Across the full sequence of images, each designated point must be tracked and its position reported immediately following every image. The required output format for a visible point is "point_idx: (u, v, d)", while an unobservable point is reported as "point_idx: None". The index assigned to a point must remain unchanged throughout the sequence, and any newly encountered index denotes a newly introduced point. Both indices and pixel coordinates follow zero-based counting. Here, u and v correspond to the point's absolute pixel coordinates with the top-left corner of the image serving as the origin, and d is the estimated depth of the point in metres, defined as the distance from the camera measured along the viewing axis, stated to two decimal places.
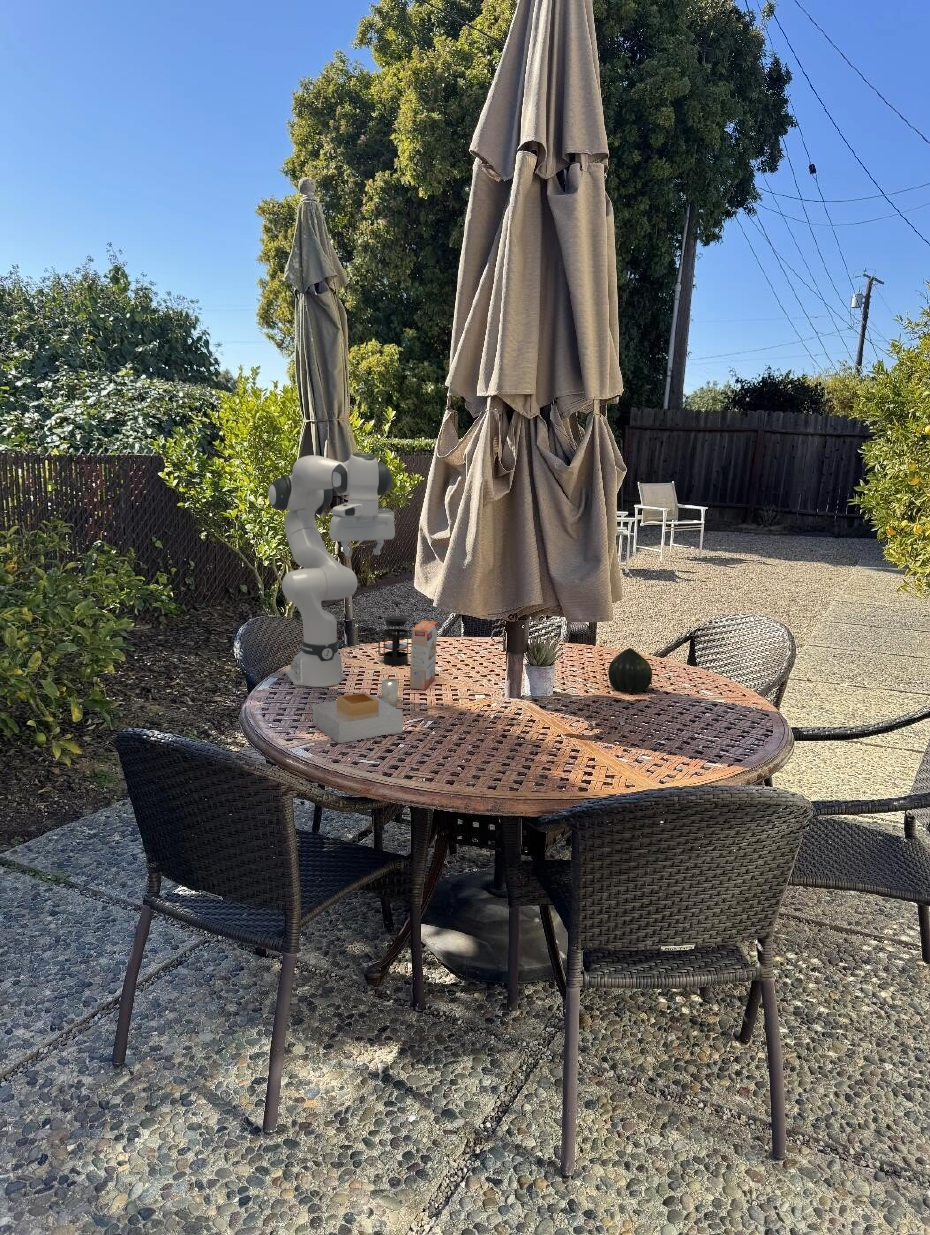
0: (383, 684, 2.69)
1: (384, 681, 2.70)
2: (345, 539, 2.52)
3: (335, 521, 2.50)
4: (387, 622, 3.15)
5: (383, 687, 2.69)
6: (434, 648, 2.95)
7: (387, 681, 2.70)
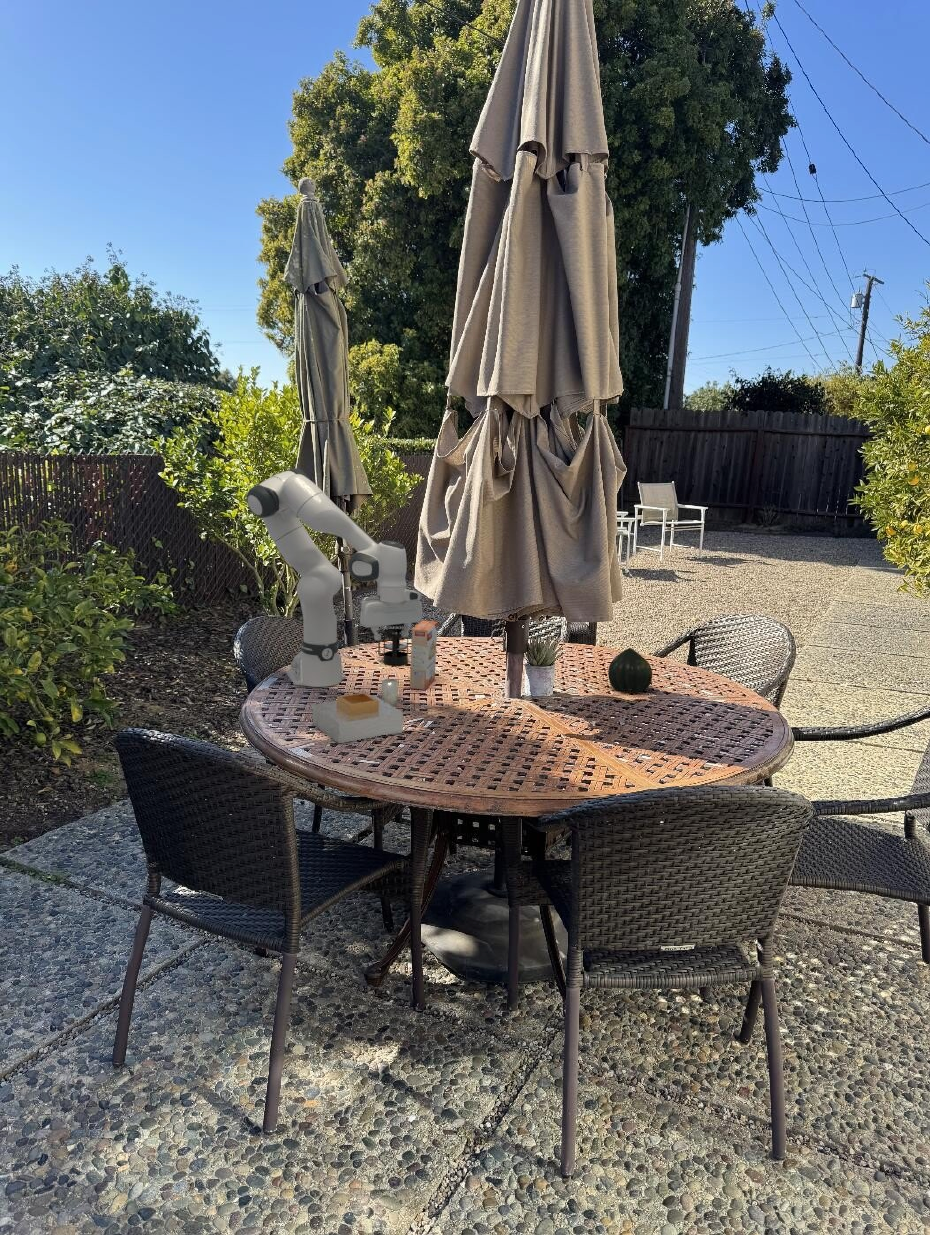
0: (383, 684, 2.69)
1: (384, 681, 2.70)
2: None
3: None
4: None
5: (383, 687, 2.69)
6: (434, 648, 2.95)
7: (387, 681, 2.70)
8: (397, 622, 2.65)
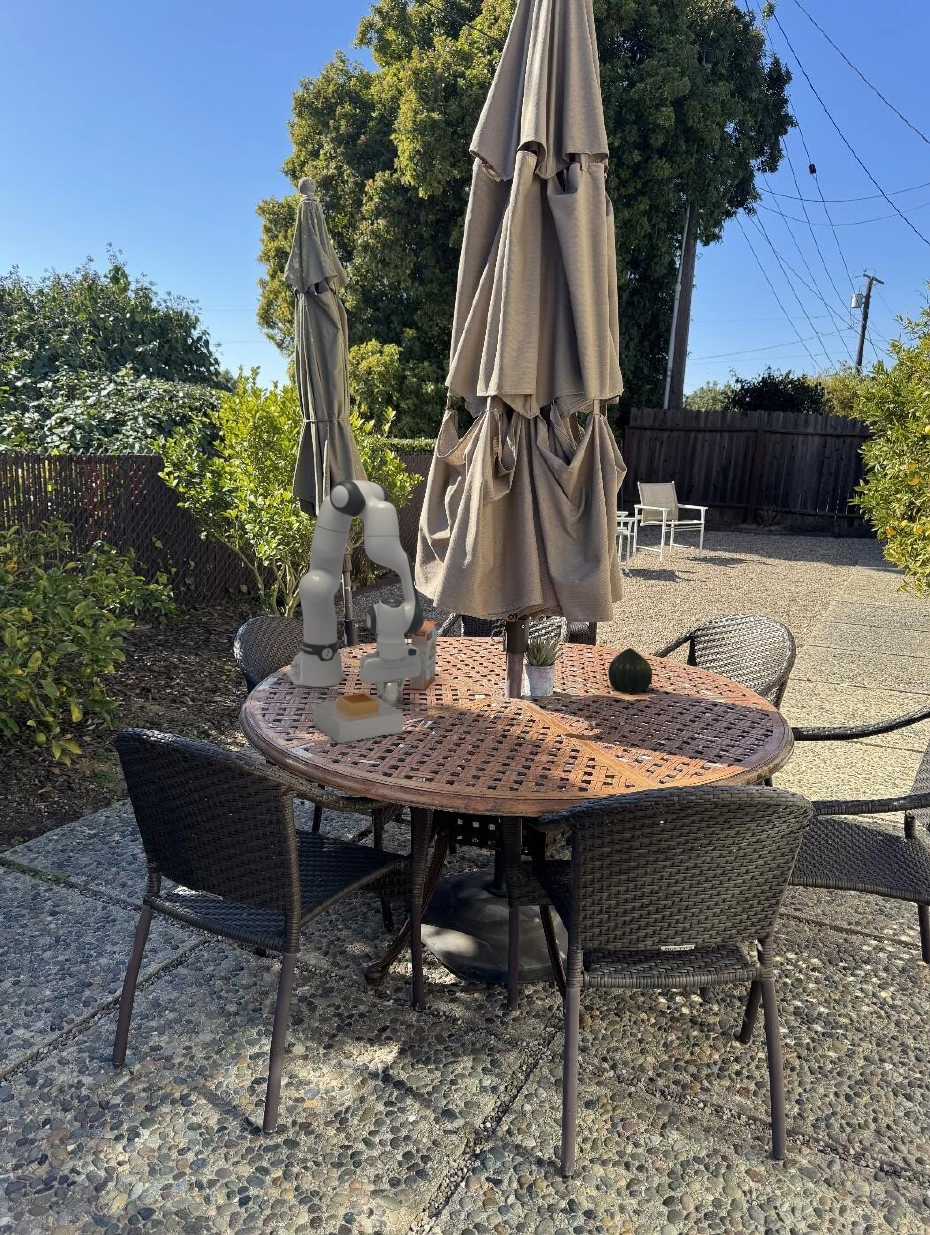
0: (383, 684, 2.69)
1: (384, 681, 2.70)
2: None
3: None
4: None
5: (383, 687, 2.69)
6: (434, 648, 2.95)
7: (387, 681, 2.70)
8: (396, 677, 2.69)
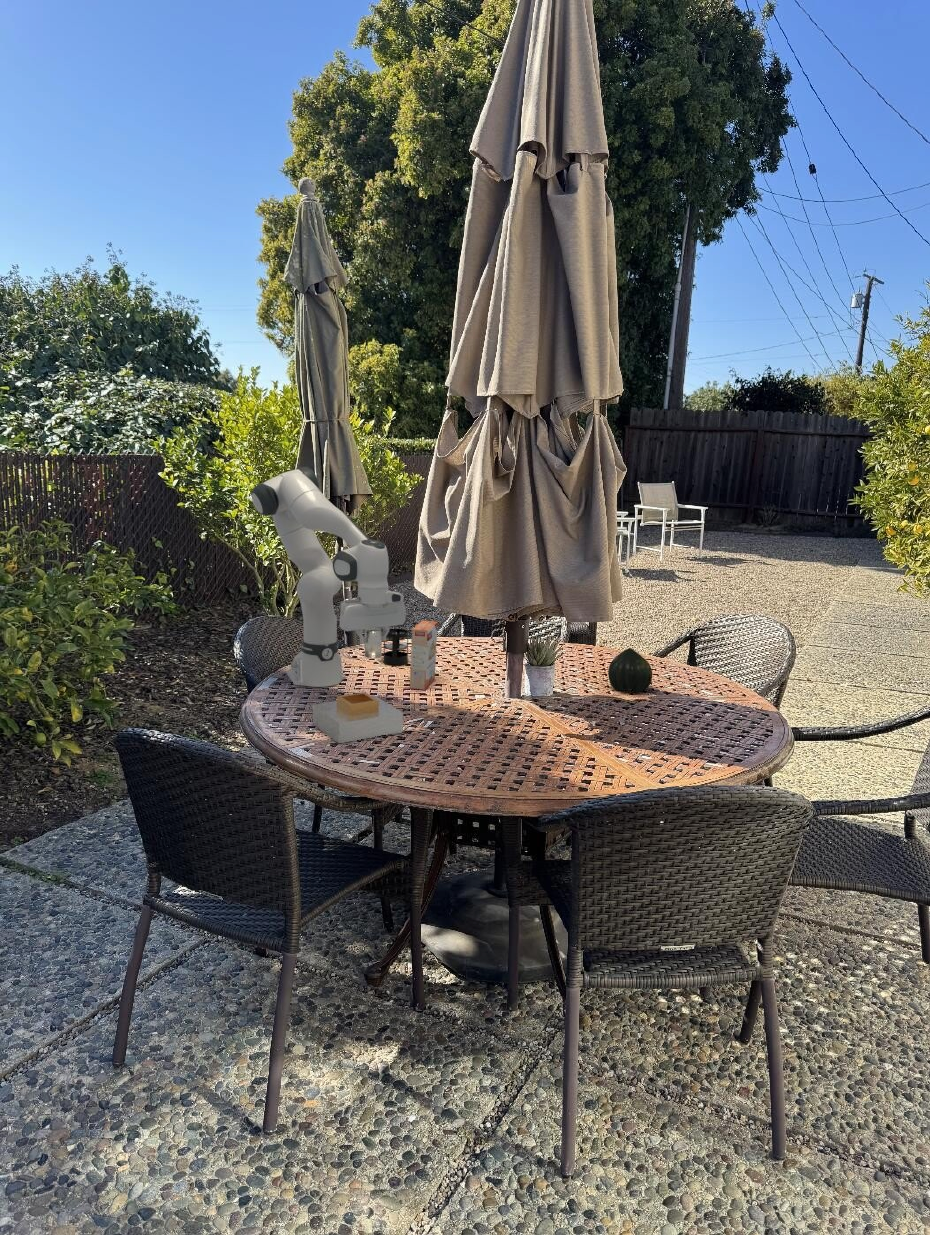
0: (366, 632, 2.52)
1: (367, 629, 2.53)
2: None
3: None
4: None
5: (366, 636, 2.52)
6: (434, 648, 2.95)
7: (370, 629, 2.53)
8: (379, 625, 2.53)
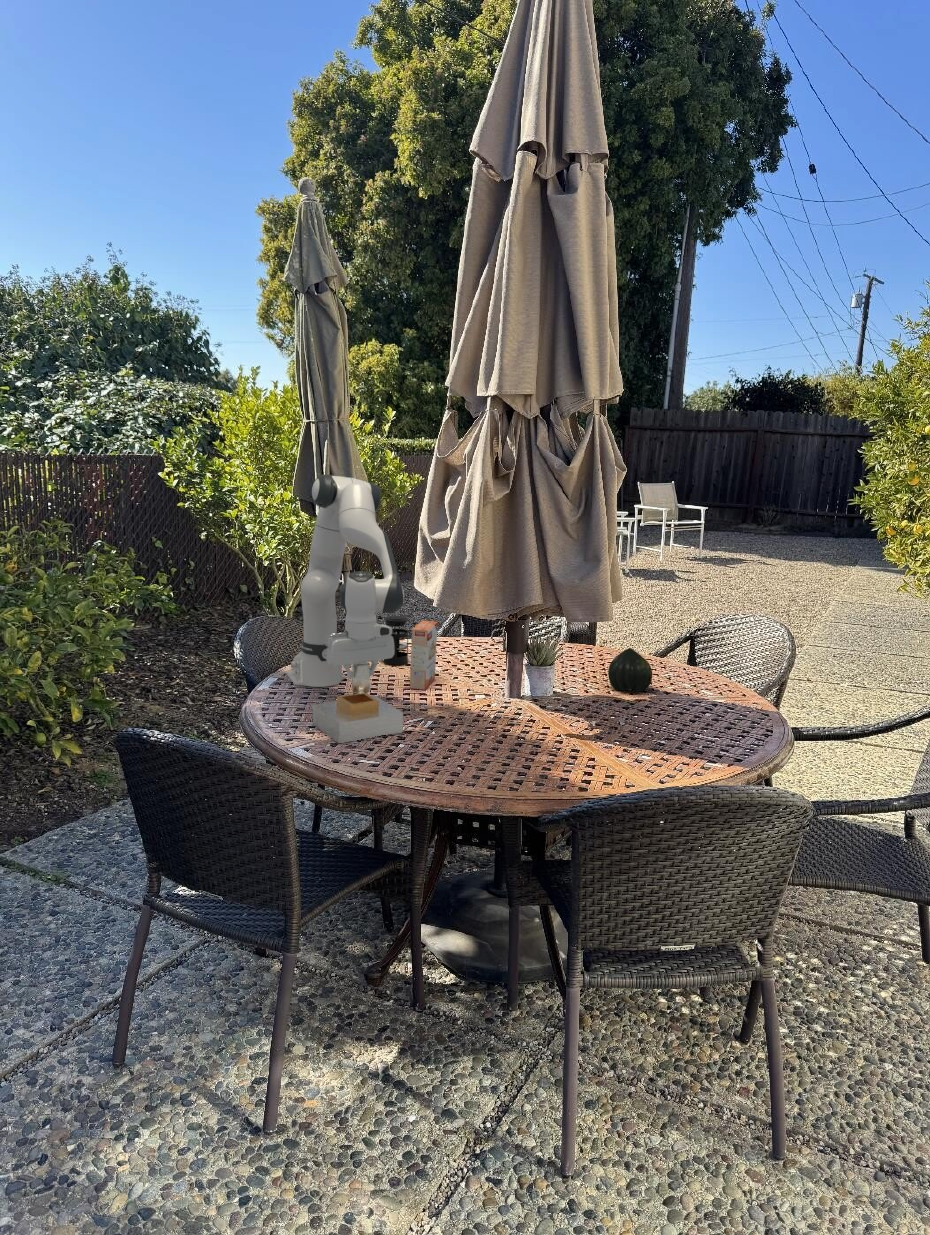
0: (353, 667, 2.45)
1: (354, 664, 2.46)
2: None
3: None
4: (387, 622, 3.15)
5: (353, 670, 2.46)
6: (434, 648, 2.95)
7: (358, 664, 2.47)
8: (367, 659, 2.46)
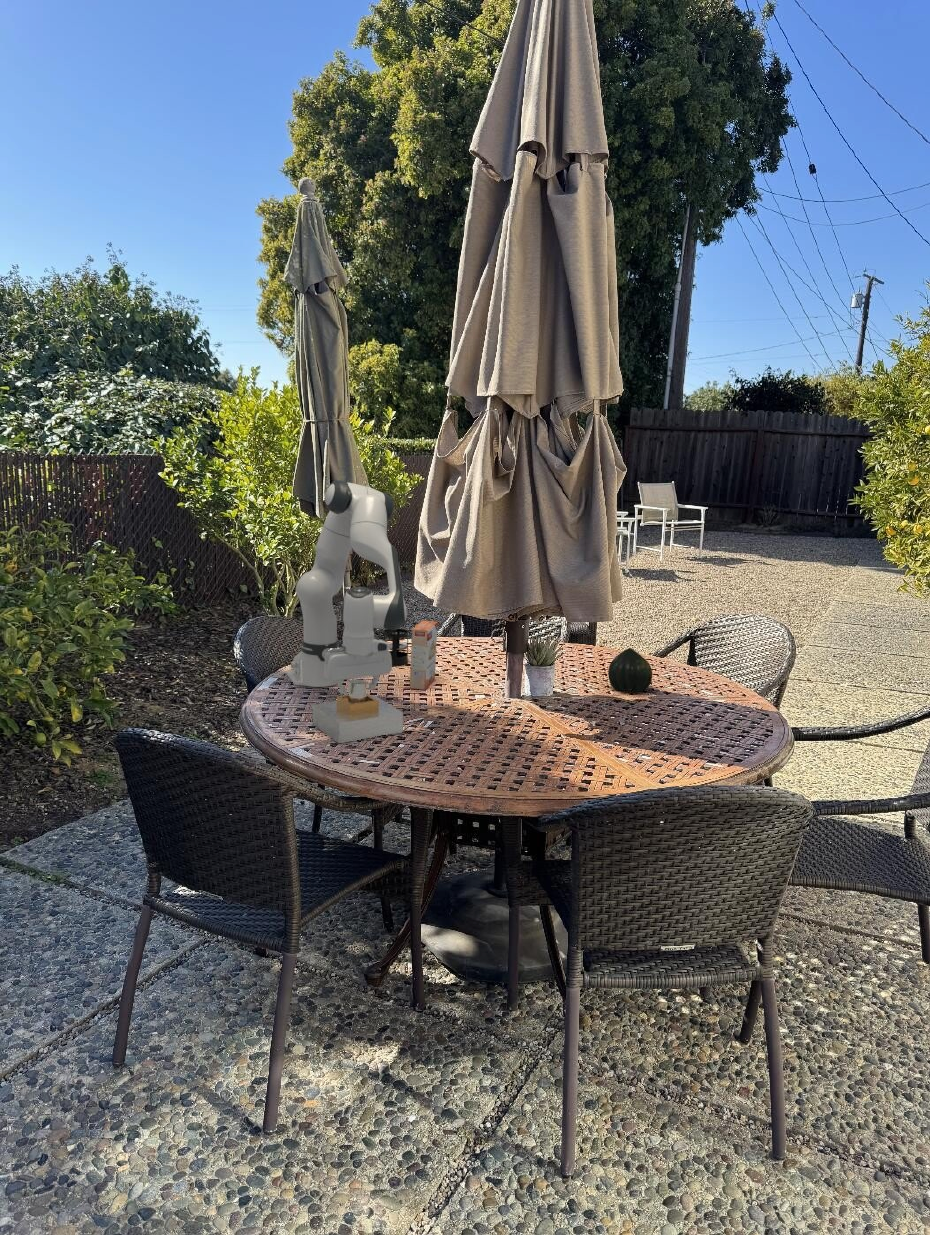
0: (350, 685, 2.46)
1: (351, 682, 2.47)
2: None
3: None
4: None
5: (350, 688, 2.47)
6: (434, 648, 2.95)
7: (354, 682, 2.48)
8: (364, 675, 2.47)
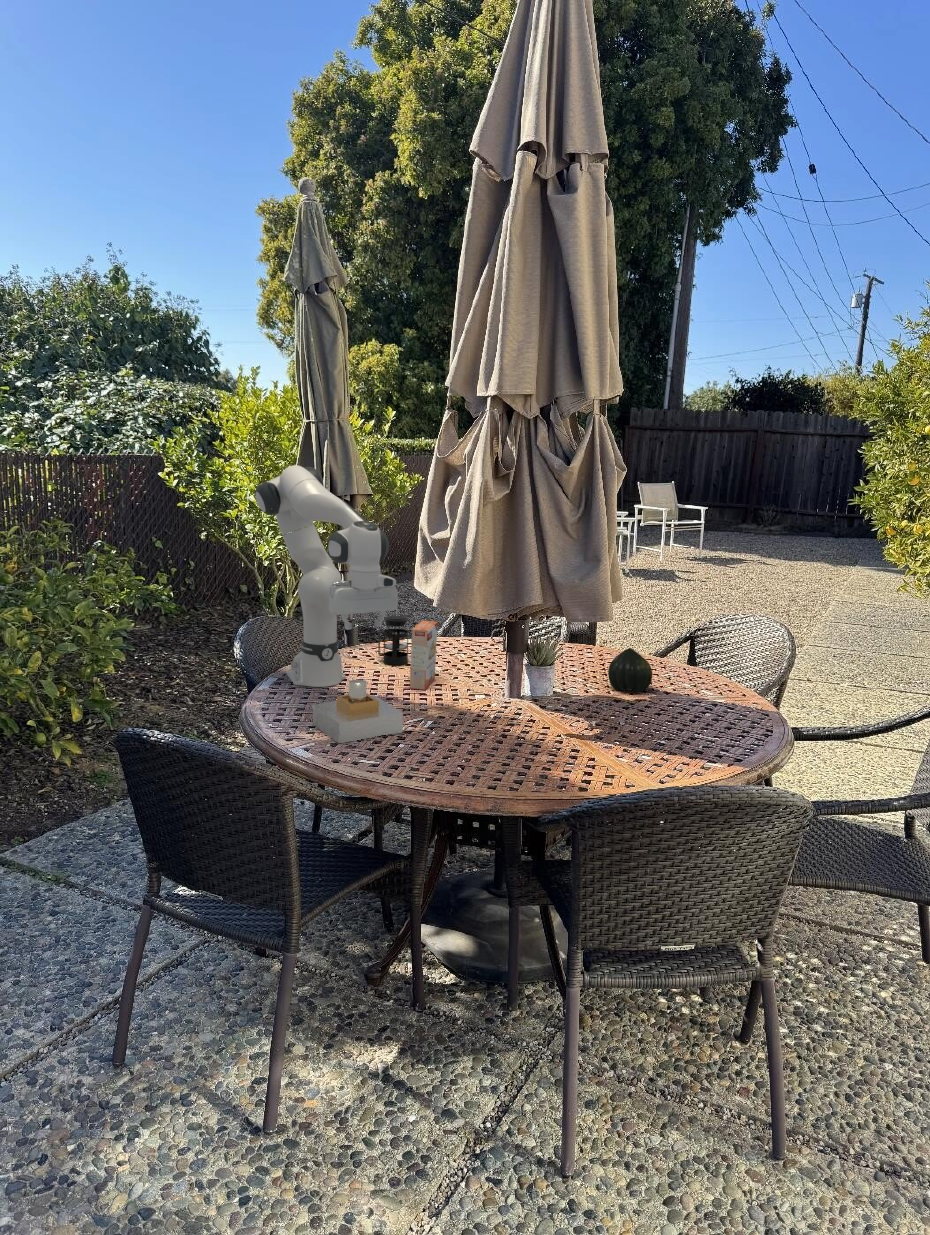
0: (350, 685, 2.46)
1: (351, 682, 2.47)
2: None
3: None
4: (387, 622, 3.15)
5: (350, 688, 2.47)
6: (434, 648, 2.95)
7: (354, 682, 2.48)
8: (370, 610, 2.44)
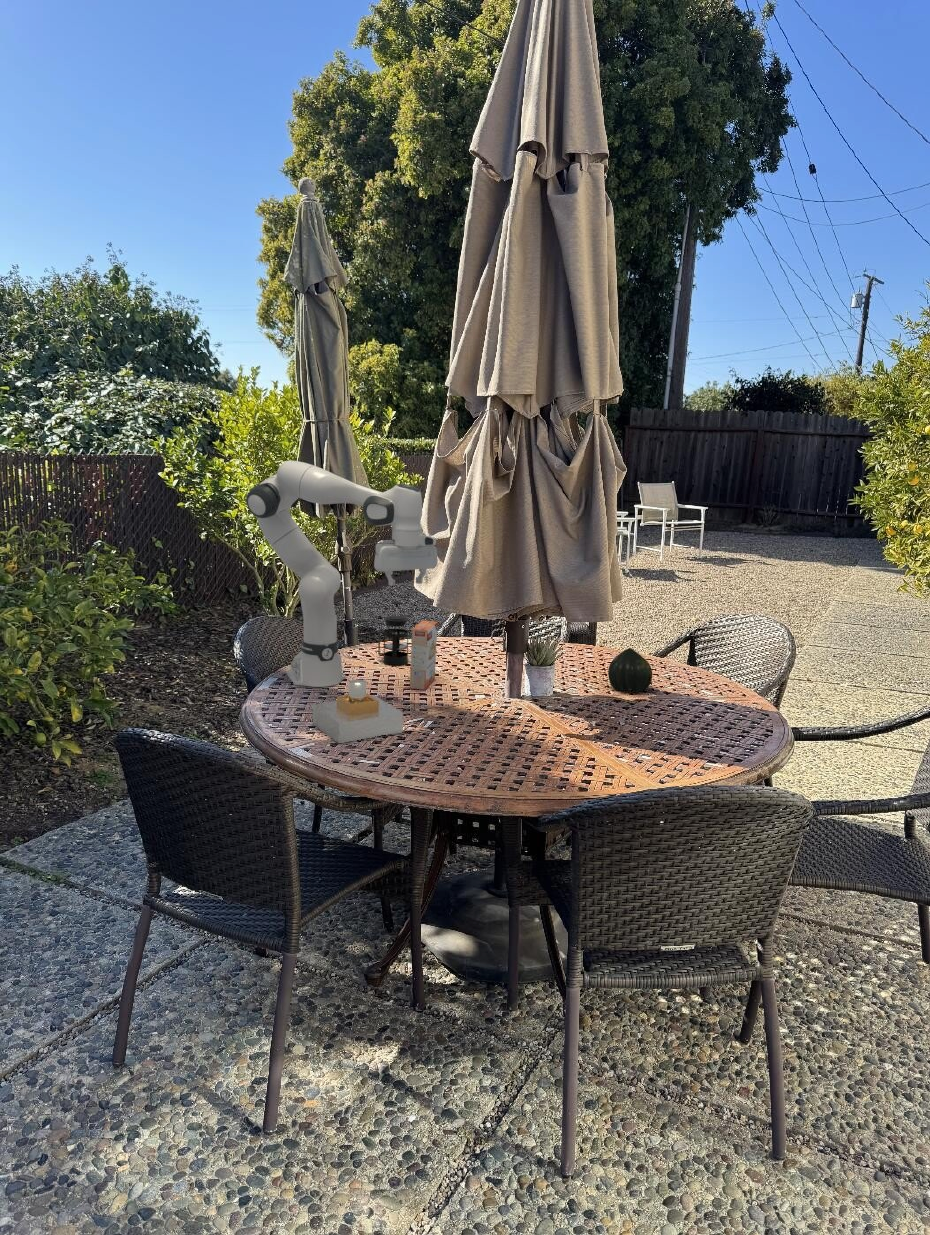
0: (350, 685, 2.46)
1: (351, 682, 2.47)
2: None
3: None
4: (387, 622, 3.15)
5: (350, 688, 2.47)
6: (434, 648, 2.95)
7: (354, 682, 2.48)
8: (412, 567, 2.61)
